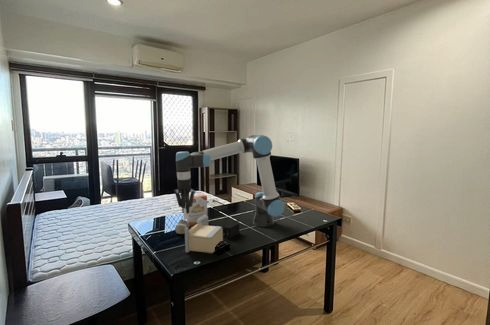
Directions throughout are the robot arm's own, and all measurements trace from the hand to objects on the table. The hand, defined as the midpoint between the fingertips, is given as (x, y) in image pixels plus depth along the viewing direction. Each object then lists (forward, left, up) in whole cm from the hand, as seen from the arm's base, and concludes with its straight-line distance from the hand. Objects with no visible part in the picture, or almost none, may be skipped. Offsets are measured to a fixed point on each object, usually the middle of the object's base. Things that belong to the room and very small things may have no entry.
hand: (186, 218), depth 149 cm
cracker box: (+9, -33, -16) cm, 38 cm away
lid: (-11, -2, -8) cm, 14 cm away
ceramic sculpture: (+13, -19, -17) cm, 28 cm away
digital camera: (-21, -20, -16) cm, 33 cm away
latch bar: (-4, -12, -4) cm, 13 cm away
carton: (-11, -6, -16) cm, 20 cm away
